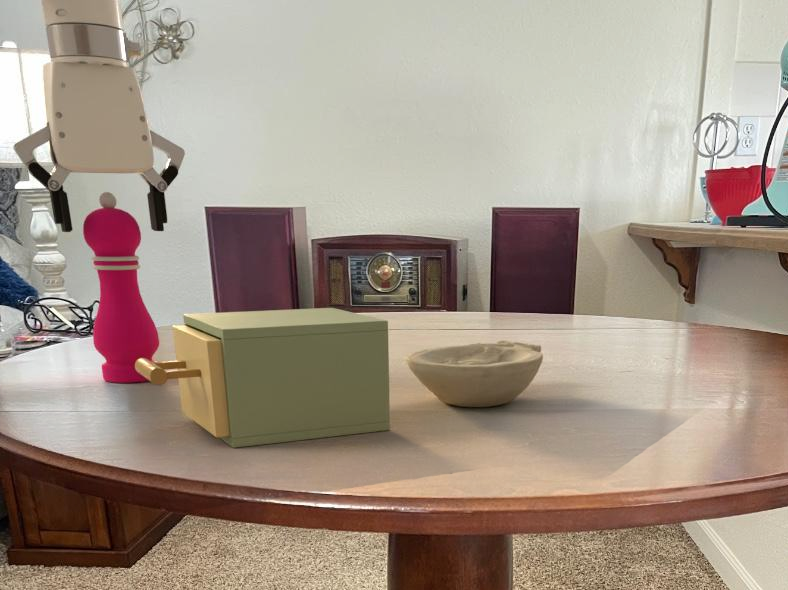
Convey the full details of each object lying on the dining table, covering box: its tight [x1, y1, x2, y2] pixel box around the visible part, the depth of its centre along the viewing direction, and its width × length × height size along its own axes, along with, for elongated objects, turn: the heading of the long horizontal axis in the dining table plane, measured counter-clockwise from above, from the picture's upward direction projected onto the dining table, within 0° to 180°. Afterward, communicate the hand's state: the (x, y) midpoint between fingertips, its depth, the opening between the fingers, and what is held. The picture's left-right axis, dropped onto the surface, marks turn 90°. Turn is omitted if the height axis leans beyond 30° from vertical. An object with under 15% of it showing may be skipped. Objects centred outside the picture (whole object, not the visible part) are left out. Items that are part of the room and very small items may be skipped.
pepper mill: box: [82, 191, 160, 384], centre depth 101 cm, size 7×7×20 cm
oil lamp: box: [405, 340, 544, 408], centre depth 96 cm, size 21×14×5 cm
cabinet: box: [182, 307, 391, 449], centre depth 81 cm, size 15×13×10 cm
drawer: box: [135, 324, 230, 438], centre depth 79 cm, size 18×11×8 cm, turn 119°
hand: (113, 231), depth 98 cm, fingers open, 9 cm apart
